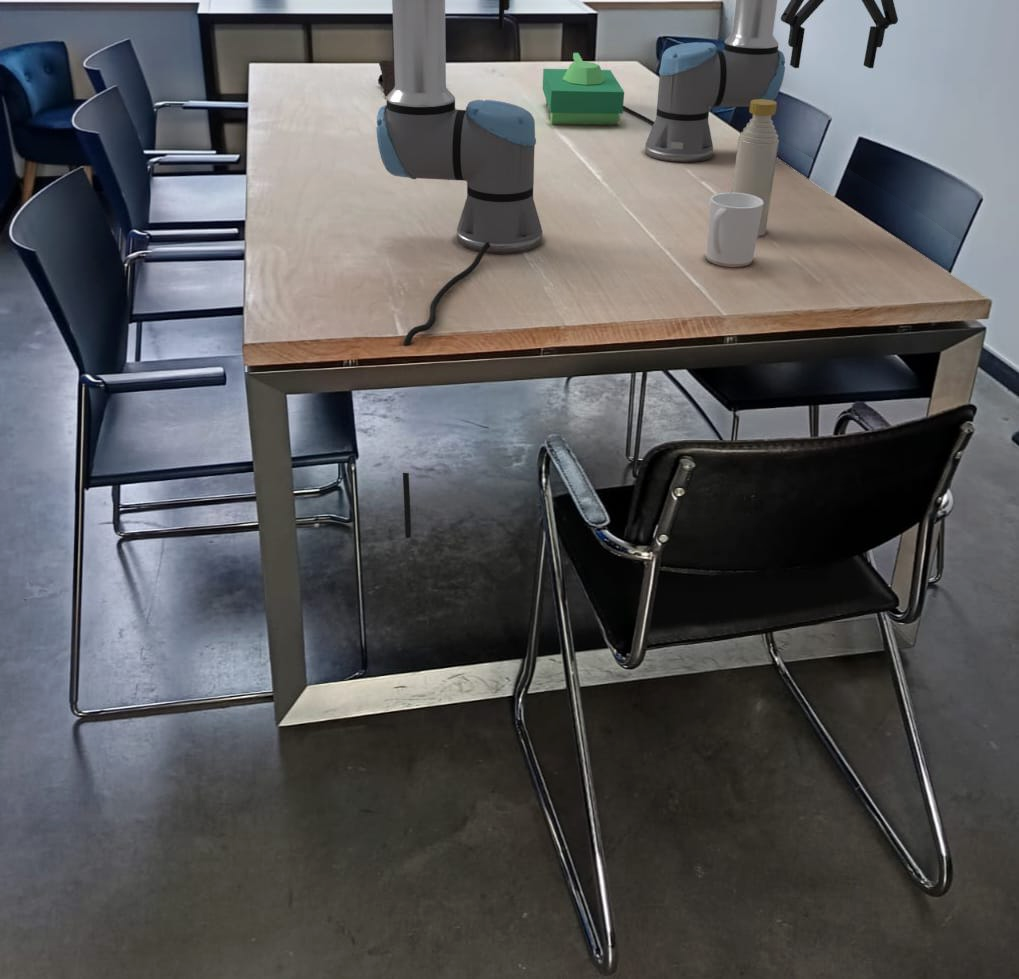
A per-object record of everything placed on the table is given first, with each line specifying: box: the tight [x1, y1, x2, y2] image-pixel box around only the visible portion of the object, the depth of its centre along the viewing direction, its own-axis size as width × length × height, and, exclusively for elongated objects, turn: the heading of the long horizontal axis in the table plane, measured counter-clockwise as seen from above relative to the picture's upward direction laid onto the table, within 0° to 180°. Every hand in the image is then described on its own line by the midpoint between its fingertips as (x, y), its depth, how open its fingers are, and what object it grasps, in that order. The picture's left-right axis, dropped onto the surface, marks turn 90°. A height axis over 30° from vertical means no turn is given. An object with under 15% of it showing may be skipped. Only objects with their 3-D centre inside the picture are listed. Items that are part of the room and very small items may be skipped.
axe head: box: [377, 59, 395, 97], centre depth 299 cm, size 18×8×15 cm
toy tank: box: [542, 52, 625, 126], centre depth 280 cm, size 18×12×35 cm
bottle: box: [731, 114, 780, 238], centre depth 197 cm, size 7×7×23 cm
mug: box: [705, 192, 764, 268], centre depth 186 cm, size 11×9×10 cm
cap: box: [748, 99, 778, 117], centre depth 192 cm, size 5×5×2 cm
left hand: (468, 26), depth 224 cm, fingers open, 13 cm apart
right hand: (831, 66), depth 194 cm, fingers open, 13 cm apart
